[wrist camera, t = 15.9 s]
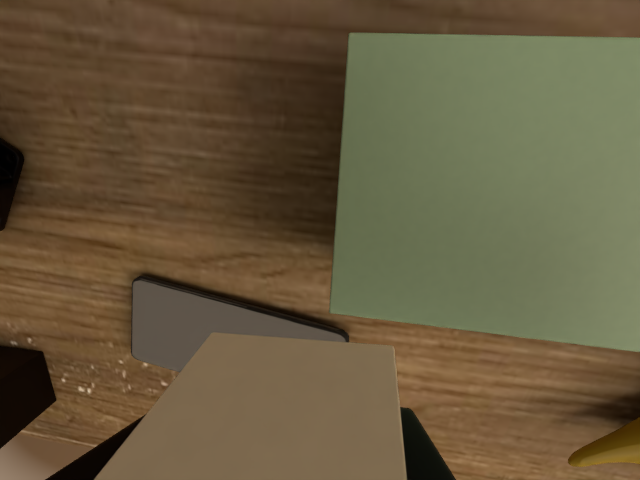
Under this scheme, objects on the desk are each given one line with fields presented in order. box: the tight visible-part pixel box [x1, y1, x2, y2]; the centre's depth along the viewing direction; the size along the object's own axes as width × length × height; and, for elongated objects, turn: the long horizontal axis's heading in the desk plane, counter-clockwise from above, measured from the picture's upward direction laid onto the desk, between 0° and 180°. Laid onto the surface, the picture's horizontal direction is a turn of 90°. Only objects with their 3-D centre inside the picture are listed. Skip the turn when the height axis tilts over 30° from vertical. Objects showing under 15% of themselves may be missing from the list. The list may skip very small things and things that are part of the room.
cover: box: [329, 33, 640, 352], centre depth 12 cm, size 13×11×1 cm
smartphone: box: [131, 276, 349, 372], centre depth 23 cm, size 7×1×15 cm
